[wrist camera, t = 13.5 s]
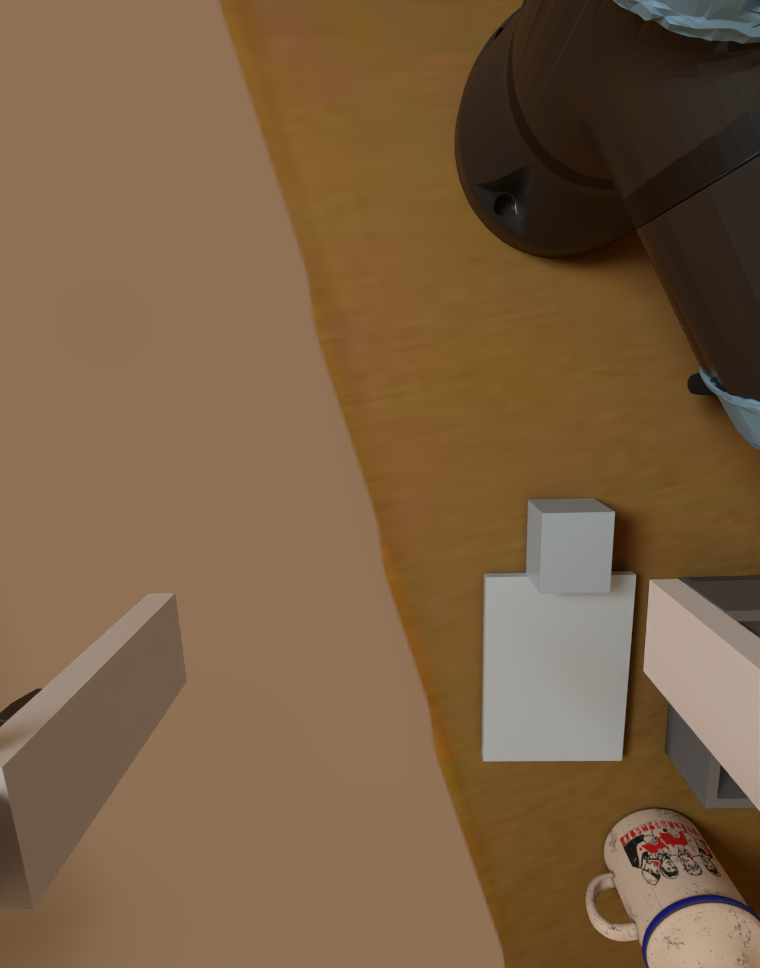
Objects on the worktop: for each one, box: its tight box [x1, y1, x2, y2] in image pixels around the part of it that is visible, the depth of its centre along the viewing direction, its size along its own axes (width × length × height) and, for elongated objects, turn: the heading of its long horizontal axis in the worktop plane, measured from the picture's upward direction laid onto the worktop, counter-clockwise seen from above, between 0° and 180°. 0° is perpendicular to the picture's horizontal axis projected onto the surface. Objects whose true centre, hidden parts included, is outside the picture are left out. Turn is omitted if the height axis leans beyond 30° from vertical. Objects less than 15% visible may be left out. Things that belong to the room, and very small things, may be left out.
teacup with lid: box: [586, 808, 760, 968], centre depth 42 cm, size 12×9×12 cm
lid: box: [482, 498, 636, 761], centre depth 41 cm, size 23×12×5 cm, turn 2°
